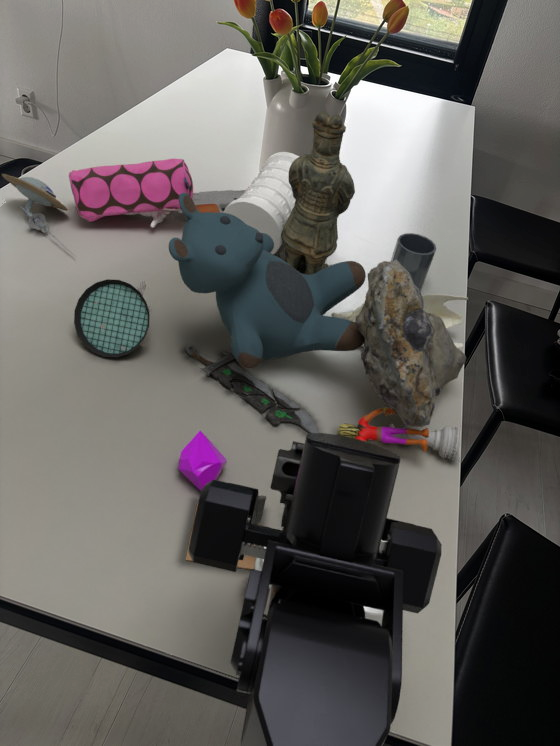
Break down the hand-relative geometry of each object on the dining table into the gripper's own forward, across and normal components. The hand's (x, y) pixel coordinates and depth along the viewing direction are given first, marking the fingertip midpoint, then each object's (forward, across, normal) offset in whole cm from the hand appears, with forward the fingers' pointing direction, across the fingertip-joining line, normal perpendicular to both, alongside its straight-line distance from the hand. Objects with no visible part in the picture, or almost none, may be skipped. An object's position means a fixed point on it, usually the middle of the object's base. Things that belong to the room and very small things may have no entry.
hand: (312, 512), depth 56 cm
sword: (+35, +8, -8) cm, 37 cm away
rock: (+29, -4, -14) cm, 32 cm away
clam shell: (+46, -8, -26) cm, 53 cm away
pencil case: (+57, +41, -38) cm, 80 cm away
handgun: (+62, +17, -30) cm, 71 cm away
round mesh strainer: (+32, +32, -12) cm, 46 cm away
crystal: (+20, +13, +5) cm, 24 cm away
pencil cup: (+60, -12, -27) cm, 67 cm away
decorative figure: (+64, +52, -30) cm, 88 cm away
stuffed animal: (+39, +2, -16) cm, 43 cm away
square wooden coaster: (+14, +8, +9) cm, 18 cm away
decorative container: (+54, +17, -30) cm, 64 cm away
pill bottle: (+9, +2, +13) cm, 16 cm away
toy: (+53, +54, -20) cm, 78 cm away
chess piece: (+28, -19, -5) cm, 34 cm away
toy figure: (+28, -9, -4) cm, 30 cm away
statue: (+57, +6, -24) cm, 62 cm away
